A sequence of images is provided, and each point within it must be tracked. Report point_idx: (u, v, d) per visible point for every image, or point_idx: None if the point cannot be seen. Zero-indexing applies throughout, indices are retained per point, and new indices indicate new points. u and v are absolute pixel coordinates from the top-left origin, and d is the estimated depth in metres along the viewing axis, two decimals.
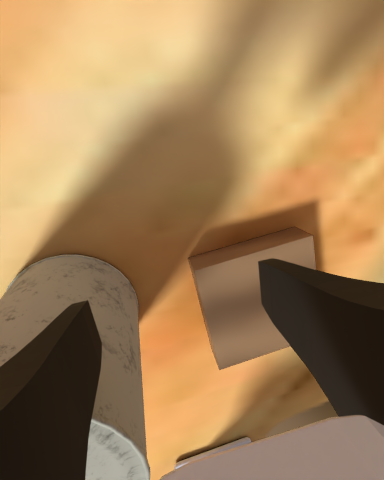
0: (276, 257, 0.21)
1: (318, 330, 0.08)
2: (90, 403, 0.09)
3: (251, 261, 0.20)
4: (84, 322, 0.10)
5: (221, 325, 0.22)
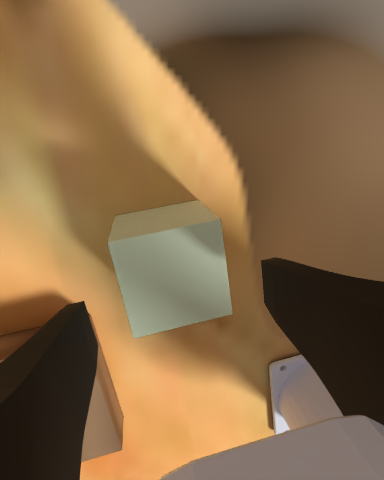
0: None
1: (322, 329, 0.08)
2: (85, 404, 0.09)
3: None
4: (79, 323, 0.10)
5: None
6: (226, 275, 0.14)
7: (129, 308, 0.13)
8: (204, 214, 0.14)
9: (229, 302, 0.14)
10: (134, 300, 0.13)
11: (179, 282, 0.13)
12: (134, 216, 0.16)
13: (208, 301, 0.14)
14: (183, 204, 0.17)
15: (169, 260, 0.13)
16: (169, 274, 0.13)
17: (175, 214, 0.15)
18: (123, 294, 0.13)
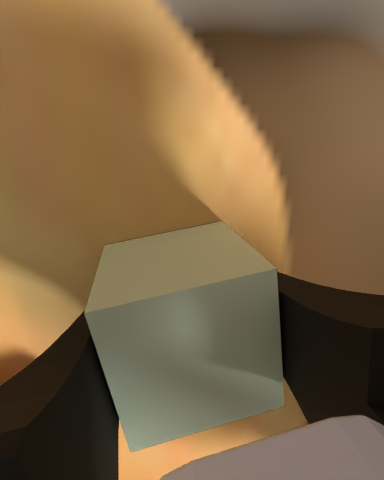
0: None
1: (289, 338, 0.08)
2: None
3: None
4: None
5: None
6: (279, 352, 0.09)
7: (123, 411, 0.08)
8: (243, 253, 0.09)
9: (281, 390, 0.09)
10: (132, 398, 0.08)
11: (205, 368, 0.08)
12: (132, 249, 0.11)
13: (250, 391, 0.09)
14: (203, 229, 0.12)
15: (189, 335, 0.08)
16: (188, 356, 0.08)
17: (195, 250, 0.10)
18: (113, 391, 0.08)
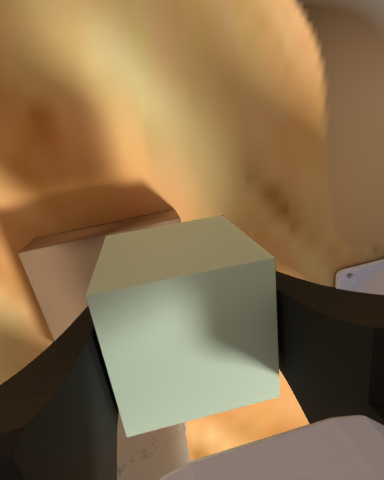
0: (51, 296, 0.17)
1: (290, 338, 0.08)
2: None
3: (58, 324, 0.17)
4: None
5: None
6: (275, 342, 0.09)
7: (121, 395, 0.08)
8: (242, 244, 0.09)
9: (276, 381, 0.09)
10: (130, 382, 0.08)
11: (202, 355, 0.08)
12: (133, 239, 0.11)
13: (245, 380, 0.09)
14: (204, 222, 0.12)
15: (187, 321, 0.08)
16: (186, 342, 0.08)
17: (195, 240, 0.10)
18: (111, 374, 0.08)
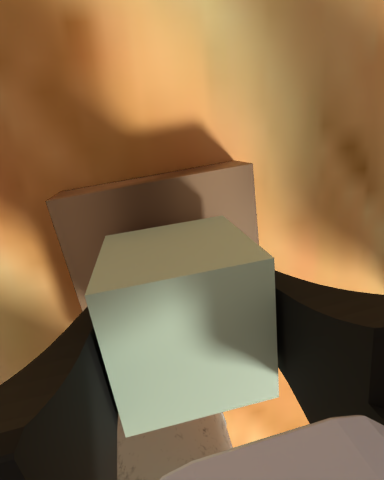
0: (85, 261, 0.13)
1: (290, 338, 0.08)
2: None
3: None
4: None
5: None
6: (275, 343, 0.09)
7: (120, 395, 0.08)
8: (241, 245, 0.09)
9: (275, 381, 0.09)
10: (129, 382, 0.08)
11: (201, 355, 0.08)
12: (132, 239, 0.11)
13: (245, 380, 0.09)
14: (203, 222, 0.12)
15: (186, 321, 0.08)
16: (185, 343, 0.08)
17: (194, 241, 0.10)
18: (110, 374, 0.08)
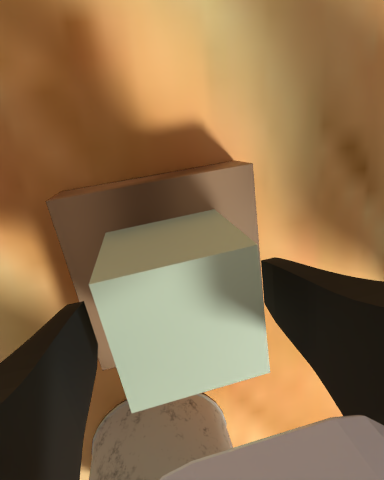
0: (85, 261, 0.13)
1: (322, 329, 0.08)
2: (85, 404, 0.09)
3: (92, 299, 0.13)
4: (79, 323, 0.10)
5: None
6: (263, 322, 0.10)
7: (124, 374, 0.09)
8: (230, 234, 0.10)
9: (266, 357, 0.10)
10: (132, 362, 0.09)
11: (196, 335, 0.09)
12: (131, 235, 0.12)
13: (237, 357, 0.10)
14: (196, 216, 0.13)
15: (181, 305, 0.09)
16: (181, 324, 0.09)
17: (187, 233, 0.11)
18: (115, 355, 0.09)
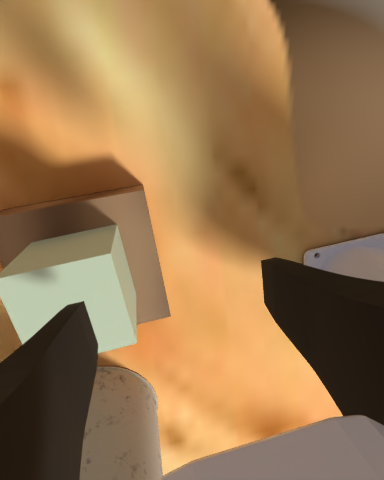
0: None
1: (322, 329, 0.08)
2: (85, 404, 0.09)
3: None
4: (79, 323, 0.10)
5: None
6: (124, 306, 0.14)
7: (25, 341, 0.13)
8: (103, 245, 0.14)
9: (131, 332, 0.14)
10: (30, 333, 0.13)
11: None
12: (46, 244, 0.16)
13: (109, 332, 0.14)
14: (99, 230, 0.17)
15: (60, 294, 0.13)
16: (62, 307, 0.13)
17: (80, 244, 0.15)
18: (17, 328, 0.13)
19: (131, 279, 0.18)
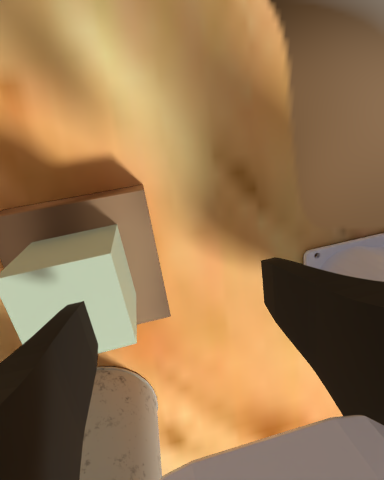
0: None
1: (322, 329, 0.08)
2: (85, 404, 0.09)
3: None
4: (79, 323, 0.10)
5: None
6: (124, 306, 0.14)
7: (25, 341, 0.13)
8: (103, 245, 0.14)
9: (131, 332, 0.14)
10: (30, 333, 0.13)
11: None
12: (46, 244, 0.16)
13: (109, 332, 0.14)
14: (99, 230, 0.17)
15: (60, 294, 0.13)
16: (62, 307, 0.13)
17: (80, 244, 0.15)
18: (17, 328, 0.13)
19: (131, 279, 0.18)
